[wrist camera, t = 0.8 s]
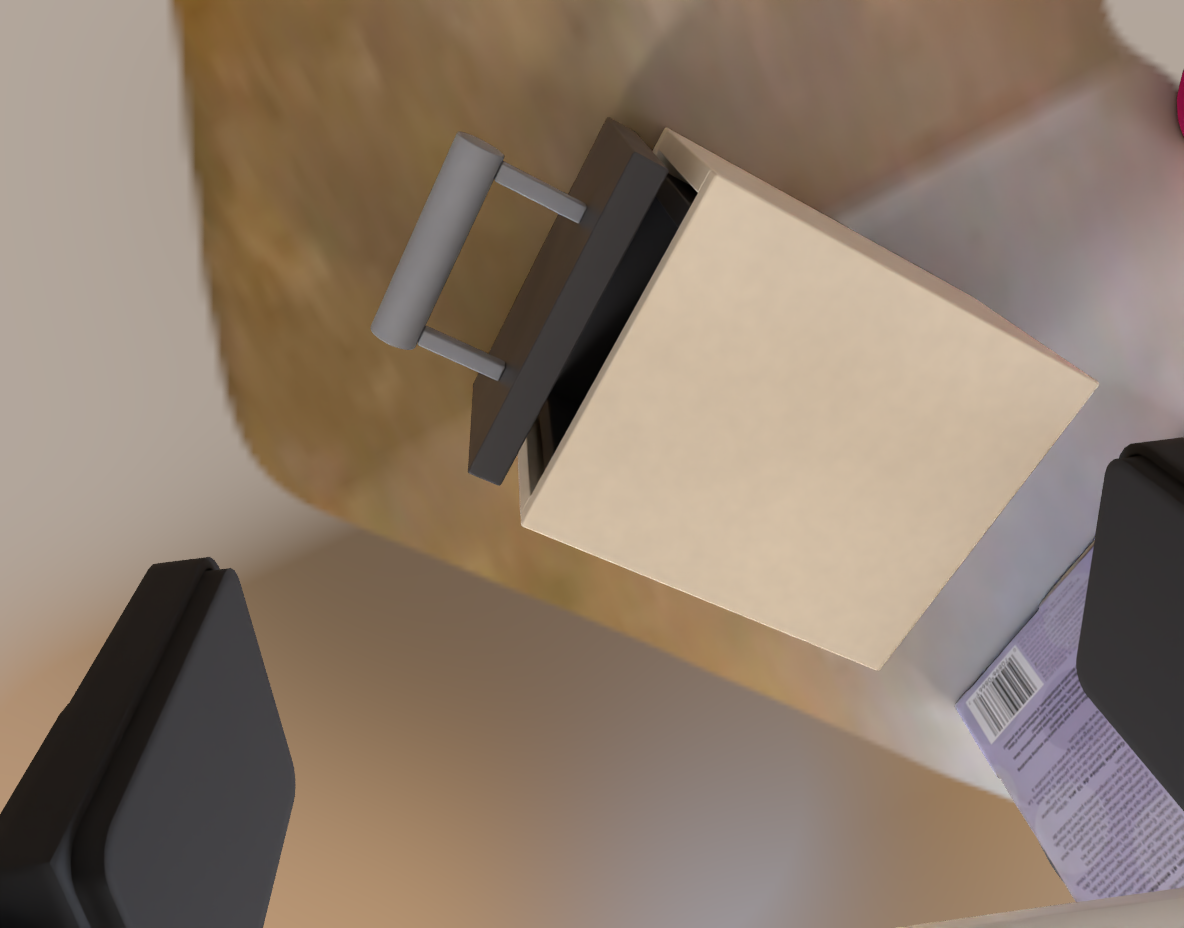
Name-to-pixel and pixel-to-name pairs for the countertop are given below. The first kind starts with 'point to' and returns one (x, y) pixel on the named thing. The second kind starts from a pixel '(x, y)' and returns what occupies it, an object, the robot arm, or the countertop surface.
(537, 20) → the countertop surface
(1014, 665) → the cake pan box
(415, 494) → the countertop surface
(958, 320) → the cream drawer cabinet
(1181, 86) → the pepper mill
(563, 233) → the black drawer
